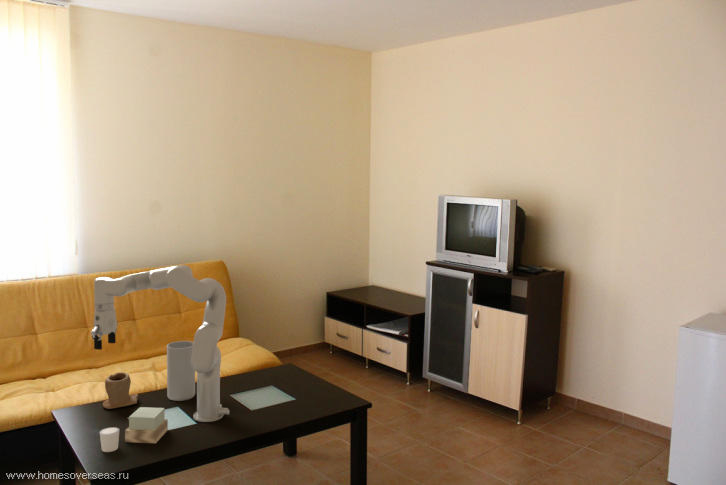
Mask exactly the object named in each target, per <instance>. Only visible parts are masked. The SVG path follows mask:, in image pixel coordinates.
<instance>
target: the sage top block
mask: <svg viewBox="0 0 726 485" xmlns="http://www.w3.org/2000/svg"><path fill="white" fill-rule="evenodd" d="M165 415H166V414H165V407H147V406H146V407H145V406H140V407H138V408H137V410H135V411H134V412H133V413H132V414H130V415H129V416H128V424H129V425H128V427H129V429H132V430H156V428H157V427H158V426H159V425H160V424H161V423H162V422H163V421H164V420H165V419H166V416H165Z"/></svg>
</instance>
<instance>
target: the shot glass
mask: <svg viewBox="0 0 726 485" xmlns="http://www.w3.org/2000/svg"><path fill="white" fill-rule="evenodd" d="M99 437H100V438H99V439H100V445H101V446H100V447H101V451H102V452H104V453H110V452H115V451H116V450H118V448H119V442H120V441H119V438H120V428H118V427H116V426H115V427H114V426H112V427H106V428H103V429H101V430H100V431H99Z"/></svg>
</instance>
